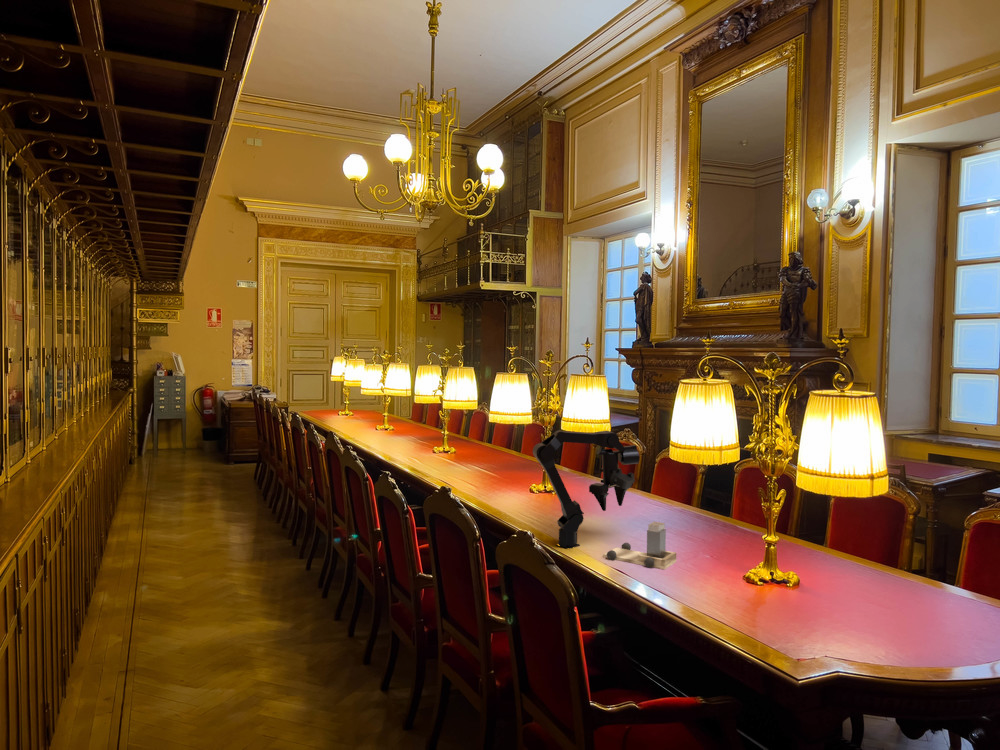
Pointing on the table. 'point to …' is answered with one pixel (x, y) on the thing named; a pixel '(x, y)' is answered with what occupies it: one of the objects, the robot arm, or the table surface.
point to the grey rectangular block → (656, 540)
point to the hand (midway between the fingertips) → (612, 508)
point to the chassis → (640, 557)
